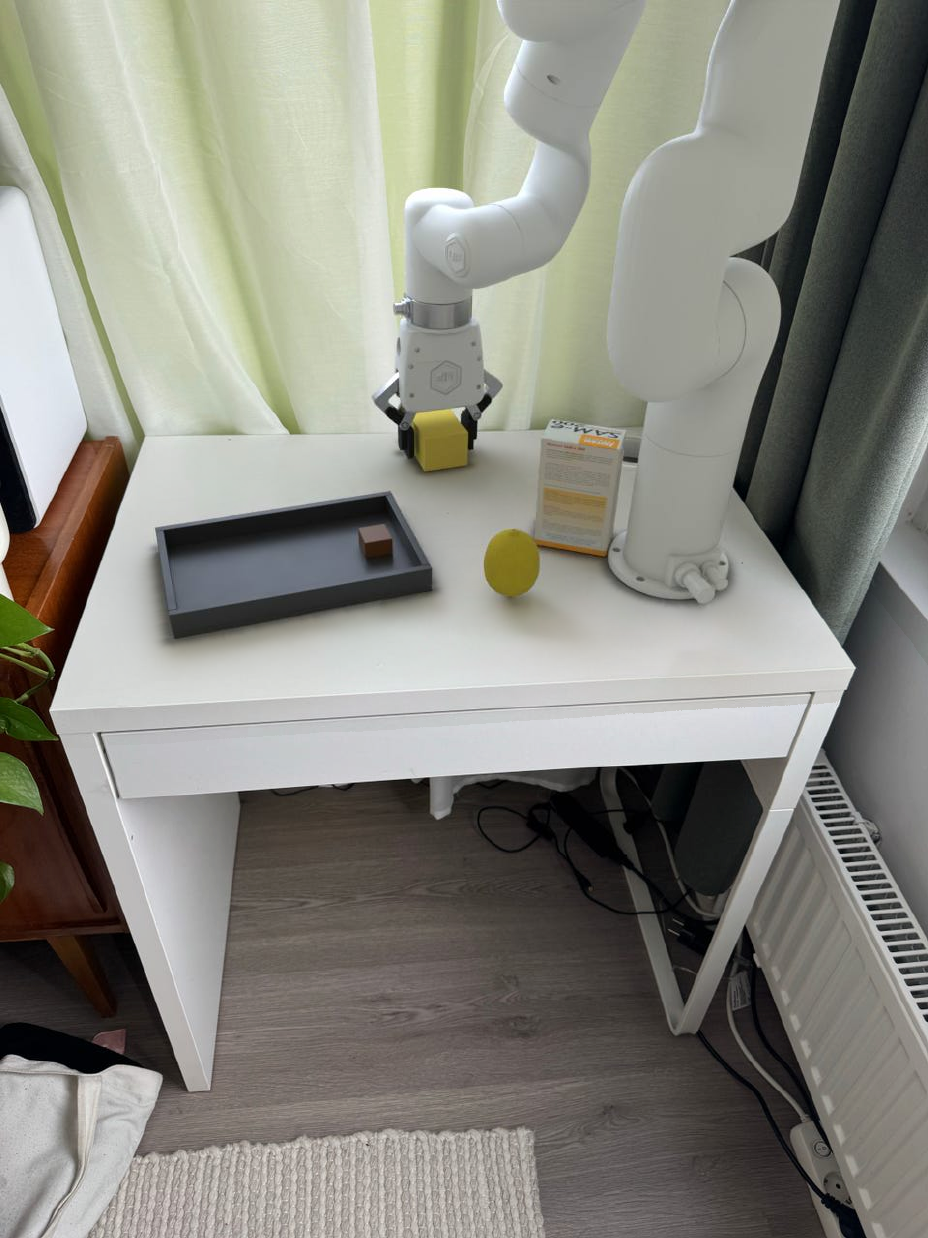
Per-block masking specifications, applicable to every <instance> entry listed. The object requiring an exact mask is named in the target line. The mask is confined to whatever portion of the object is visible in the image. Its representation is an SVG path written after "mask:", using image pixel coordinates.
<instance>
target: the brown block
mask: <svg viewBox="0 0 928 1238" xmlns="http://www.w3.org/2000/svg"><path fill="white" fill-rule="evenodd" d="M358 539H359V545H360V547H361V549H362V551H363V554H364V556H365V558H372V557H378V556H383V555H389V554H393V539H392V537H391V535H390V533H389V531H388V529H387V527H386V525H385V524H381V525H375V526H369V527H363V528H358Z"/></svg>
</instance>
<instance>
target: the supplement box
mask: <svg viewBox="0 0 928 1238" xmlns="http://www.w3.org/2000/svg"><path fill="white" fill-rule="evenodd" d="M626 438H627V430H626V429H621V428H614V427H607V426H600V425H595V424H588V423H587V424H586V423H580V422H575V421H574V422H573V421H567V420H561V419H553V418H551V419H550V420H549V422H548V424H547V426H546V428H545V429H544V432H543V434H542V435H541V438H540V451H539V465H538V477H537V479H538V480H537V490H536V491H537V493H536V505H535V507H536V508H535V520H534V521H535V522H534V538H533V539H534V541H535V543H536V545H537V546H542V547H543V546H544V547H548V548H553V549H559V550H566V551H572V552H577V553H582V554H589V555H593V556H599V557H605V558H606V557H607V556H608V552H609V547H610V544H611V542H612V540H613V535H614V528H615V522H616V515H617V514H616V513H617V505H618V498H619V491H620V484H621V476H622V469H623V462H624V454H625V446H626Z"/></svg>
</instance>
